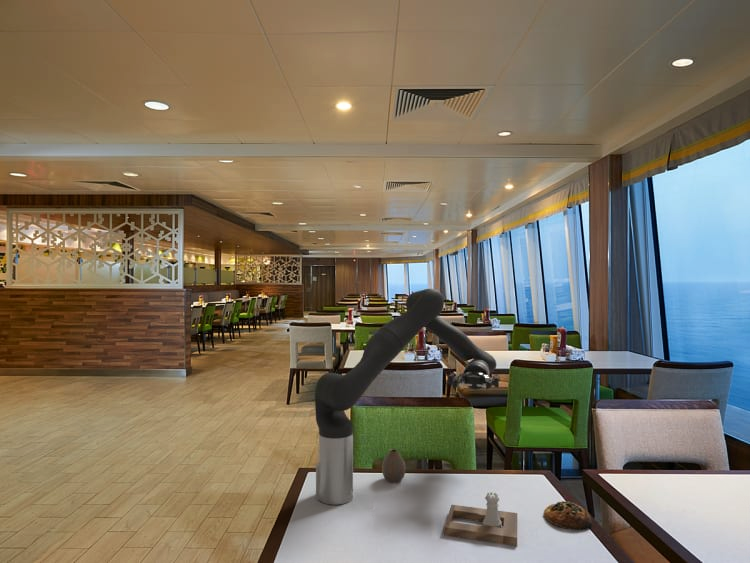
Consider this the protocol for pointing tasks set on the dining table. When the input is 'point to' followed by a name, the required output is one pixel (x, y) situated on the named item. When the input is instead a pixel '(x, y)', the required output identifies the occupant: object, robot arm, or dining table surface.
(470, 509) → the rectangular wooden frame
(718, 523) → the dining table surface
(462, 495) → the dining table surface
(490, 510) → the rook chess piece
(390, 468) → the vase
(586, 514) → the bread roll
